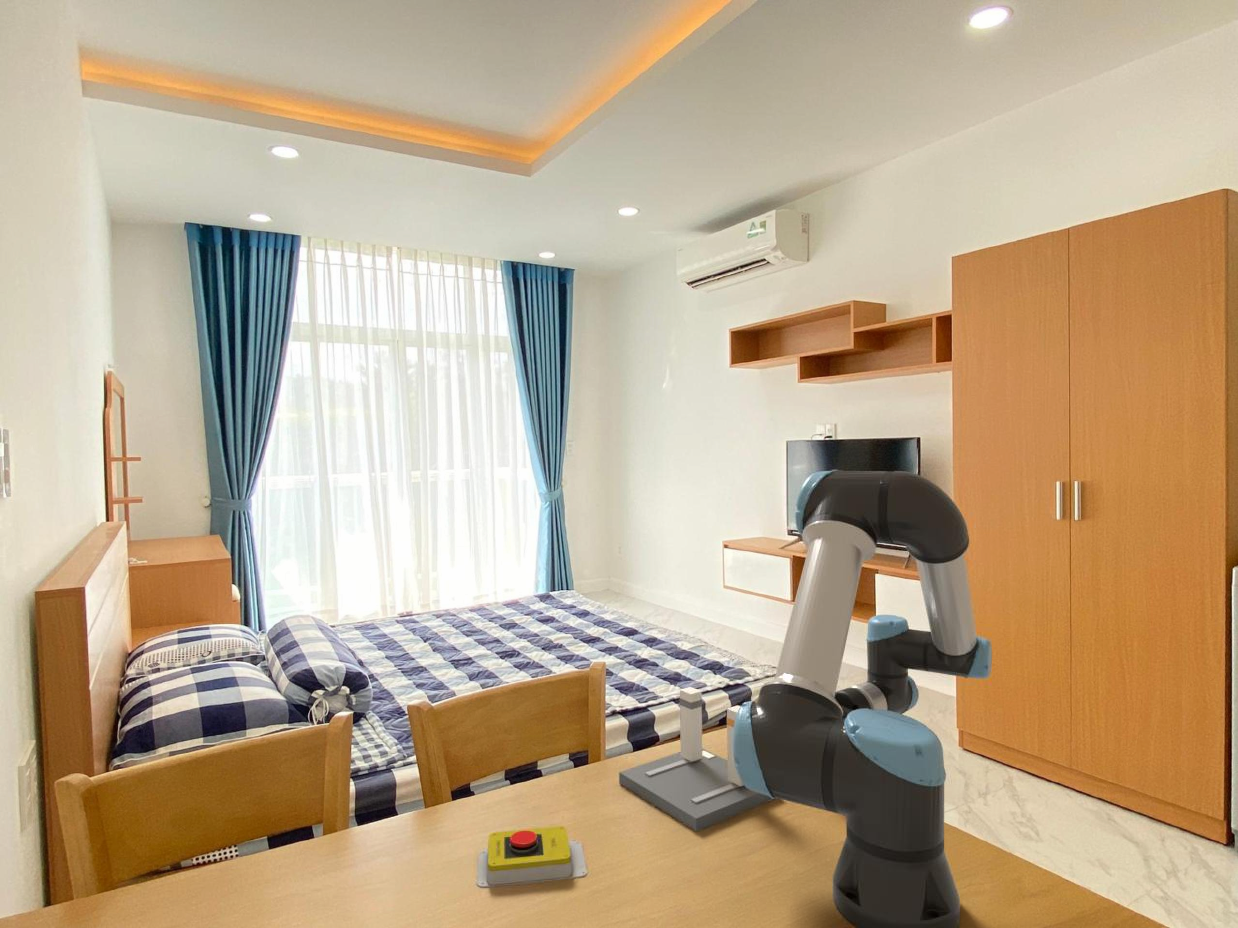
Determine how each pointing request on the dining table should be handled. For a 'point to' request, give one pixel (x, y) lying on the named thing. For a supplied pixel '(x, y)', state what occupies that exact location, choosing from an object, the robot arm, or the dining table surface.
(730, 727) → the block
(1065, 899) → the dining table surface
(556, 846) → the emergency button
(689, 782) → the panel
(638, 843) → the dining table surface
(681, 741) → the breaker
